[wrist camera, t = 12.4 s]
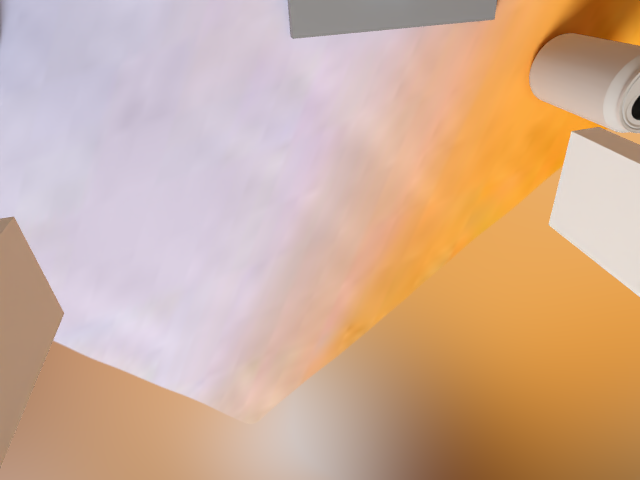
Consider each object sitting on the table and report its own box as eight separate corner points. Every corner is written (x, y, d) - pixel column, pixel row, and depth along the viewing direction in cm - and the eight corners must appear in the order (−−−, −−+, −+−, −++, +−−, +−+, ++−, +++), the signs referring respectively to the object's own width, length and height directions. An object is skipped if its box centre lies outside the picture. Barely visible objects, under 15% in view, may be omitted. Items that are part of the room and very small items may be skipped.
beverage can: (512, 83, 44) (599, 118, 34) (555, 18, 41) (662, 36, 32) (554, 109, 47) (647, 150, 37) (597, 50, 44) (709, 76, 34)
